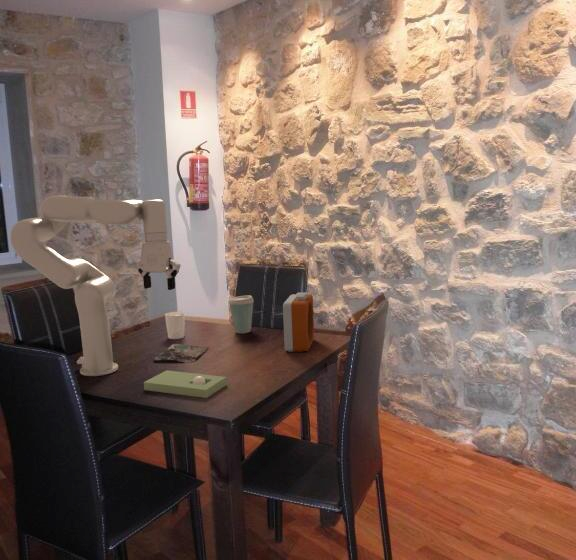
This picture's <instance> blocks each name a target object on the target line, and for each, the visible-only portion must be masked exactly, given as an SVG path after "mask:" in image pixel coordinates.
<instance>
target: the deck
mask: <svg viewBox="0 0 576 560" xmlns="http://www.w3.org/2000/svg"><path fill="white" fill-rule="evenodd" d="M197 376H201V377H203V378H204V379H205V381H206V384H204V385H200V384H192V382H193V379H194V378H195V377H197ZM227 378H228V377H227V376H221V375H212V374H211V375H210V374H203V373H193V372H192V373H191V372H186V371H185V372H184V371H176V370H168V369H167V370H164V371H163V372H161V373H159V374H157V375H155V376H152V377H151V378H149V379H147V380H146V381H144V382H143V390H144V391H150V392H159V393H166V394H172V395H173V394H174V395H178V396H179V395H181V396H189V397H195V398H204V399H207V398H209V397H211V396H212V395H213V394H215V393H216V392H218V391H220V390H221V389H222V388H224V387H226V386H227V385H228V379H227Z"/></svg>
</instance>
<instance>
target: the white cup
mask: <svg viewBox="0 0 576 560" xmlns="http://www.w3.org/2000/svg"><path fill="white" fill-rule="evenodd" d="M164 317H165V325H166V332H167V338H168V339H170V340H179V339H183V338H184V337H185V328H186V327H185V326H186V325H185V324H186V323H185V322H186V321H185V320H186V319H185V312H183V311H172V312H171V311H169V312H166V313H165V314H164Z"/></svg>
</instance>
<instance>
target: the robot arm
mask: <svg viewBox="0 0 576 560" xmlns="http://www.w3.org/2000/svg"><path fill="white" fill-rule="evenodd" d="M40 213H41V214H40V215H39V216H38V217H31V218H24V219H21V220H19V221H17V222H16V223H14V225H13V226H12V228H11V230H10V236H9V237H10V244H11V247H12V249H13V250H14V252H15V254H16V255H17V256H18V257H19V258H21V260H23V261H25V263H27V264H28V265H30V266H31V267H32V268H34V269H36V271H38V272H39V273H41V274H42V275H43V276H45V277H46V278H47V279H49V280H50V281H51V282H53V283H54V284H55V285H56V286H58V287H59V288H62V289H64V290H66V289H67V290H68V289H73V288H75V287H77V288H76V290H75V291H74V292H75V293H74V302H75V306H76V309H77V313H78V314H77V315H78V319H79V328H80V336H81V347H82V355H83V356H79V358H78V359H77V361H76V364H77V365H81V368H80V369H79V374H80V375H82V376H84V377H98V376H105V375H109V374H112V373H114V372H116V371H118V369H119V365H118V363H116V362H114V357H113V347H112V345H113V344H112V336H111V325H110V317H109V312H108V310H107V306H106V304H107V303H109V302H110V301H111V300H112V299H113V298H115V297H116V296H115V295H116V292H117V289H116V285H115V283H114V282H113V280H112V279H111V278H110V277H109V276H107V275H106V274H105V273H104V272H102V271H100V270H99V269H98V268H96V266H94V265H93V264H91V263H90V262H89V261H86V260H85V259H82V258H80V257H79V258H78V257H75V258H74V257H73V258H69V259H67V258H65V257H64V256H62V255H61V254H59V253H58V252H57V251H56V250H54V249H53V248H51V247H49V246H48V245H45V244H43V243H45V242H48V241H49V240H52V239H53V238H55V237H56V236H57V234H59V233H60V232H61V231H62V230H63V229H64V228H65V227H66V226H68V224H69V223H80V224H81V223H83V224H102V225H103V224H104V225H130V224H135V223H140V222H142V228H143V233H142V234H141V238H142V239H143V242H142V244H141V250H140V260H139V261H138V262H136V263H135V266H136V269H137V271H138V273H139V274H140V276H141V277H142V280H143V281H142V282H143V283H142V284H143V289H144V290H146V289H150V288H152V278H151V275H150V274H151V273H165V274H166V276H167V278H166V281H167V282H166V283H167V290H168V291H172V290H175V289H176V278H177V275H178V273H179V272H180V271H179V270H180V268H181V266H182V265H181V263H179V262H177V261H176V260H174V258H173V253H172V252H173V251H172V247H171V243H170V241H169V240H168V226H167V212H166V203H165V201H164V200H162V199H146V200H141V199H140V200H139V199H129V200H127V199H126V200H110V199H109V200H104V199H95V198H94V197H91V196H70V195H69V196H68V195H66V194H65V195H51V196H47V197H46V198H45V199H44V200H42V202H41V204H40Z"/></svg>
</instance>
